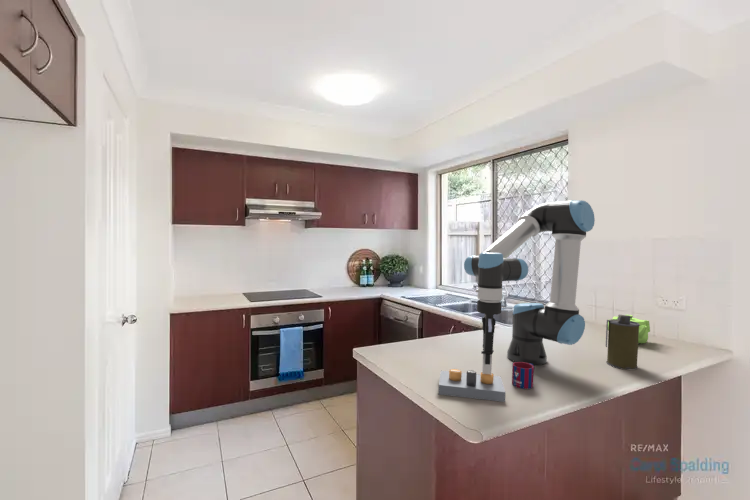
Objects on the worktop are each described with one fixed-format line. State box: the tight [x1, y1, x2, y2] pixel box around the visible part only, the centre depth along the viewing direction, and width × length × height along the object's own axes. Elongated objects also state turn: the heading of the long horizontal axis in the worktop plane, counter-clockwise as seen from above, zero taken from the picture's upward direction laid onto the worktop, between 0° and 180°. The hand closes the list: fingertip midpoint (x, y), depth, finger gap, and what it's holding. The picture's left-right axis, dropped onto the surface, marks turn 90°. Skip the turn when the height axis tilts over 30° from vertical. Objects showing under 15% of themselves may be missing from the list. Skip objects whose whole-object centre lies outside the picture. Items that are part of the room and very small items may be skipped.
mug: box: [511, 361, 535, 390], centre depth 126 cm, size 7×10×7 cm
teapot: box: [608, 314, 651, 344], centre depth 180 cm, size 18×20×13 cm
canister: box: [605, 314, 640, 370], centre depth 147 cm, size 11×10×20 cm
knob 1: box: [448, 368, 463, 381], centre depth 121 cm, size 4×4×6 cm
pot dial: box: [466, 370, 477, 387], centre depth 117 cm, size 3×3×4 cm
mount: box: [438, 370, 506, 403], centre depth 120 cm, size 20×13×3 cm, turn 77°
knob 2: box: [480, 371, 495, 384], centre depth 119 cm, size 4×4×5 cm
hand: (486, 372), depth 119 cm, fingers closed
